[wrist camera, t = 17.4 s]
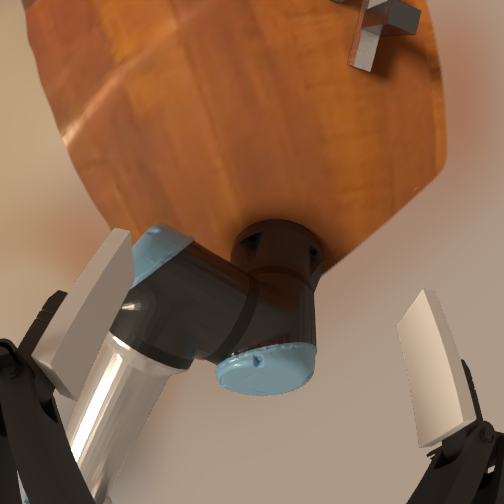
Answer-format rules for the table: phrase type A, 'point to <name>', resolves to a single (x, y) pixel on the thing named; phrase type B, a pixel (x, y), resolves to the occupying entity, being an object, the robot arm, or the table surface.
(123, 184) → the table surface
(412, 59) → the table surface
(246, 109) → the table surface
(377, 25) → the grey inverted t block
